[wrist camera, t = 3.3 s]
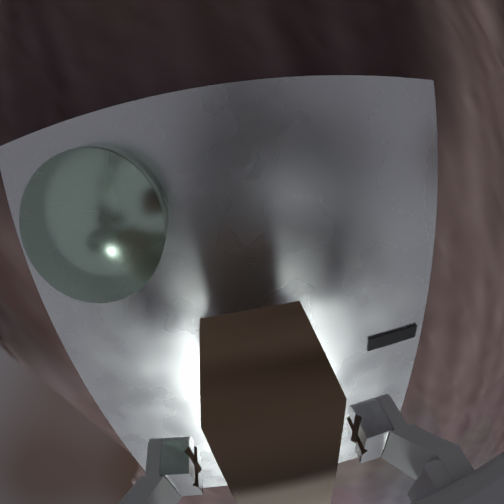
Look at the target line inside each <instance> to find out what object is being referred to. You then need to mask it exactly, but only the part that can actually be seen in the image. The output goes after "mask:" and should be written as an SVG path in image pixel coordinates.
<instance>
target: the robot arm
mask: <svg viewBox="0 0 504 504" xmlns="http://www.w3.org/2000/svg"><path fill="white" fill-rule="evenodd" d="M348 413H349V417H348V418H347V421H346V426H347V432H348V435H349V437H350V440H351V441H352V442H354V443H356V446H355V452H356V454H357V456H358V459H359V461H360V463H363V462H366V461H369V460H372V459H375V458H378V457H381V456H382V458H383V459H384V460H386V461H387V462H389V463H390V464H392V465H393V466H395V467H396V468H398V469H399V470H401V471H402V472H404V473H405V474H407V475H409V476H410V477H412V478H413V479H415V480H416V481H415V482H414V484H413V485H412V487H411V488H410V490H409V492H408V495H409V497H410V500H411V502H412V503H411V504H504V452H502V453H501V454H499V455H498V456H496V457H495V458H493V459H492V460H490V461H489V462H487V463H486V464H484V465H483V466H481V467H479V468H478V469H476V470H474V469H473V467H472V466H471V464H470V462H469V461H468V459H467V458H466V456H465V454H464V453H463V451H462V450H461V448H460V446H458V445H456V444H453V443H451V442H449V441H447V440H445V439H443V438H440V437H438V436H436V435H434V434H432V433H430V432H428V431H426V430H423V429H421V428H419V427H417V426H415V425H413V424H408V425H407V423H406V421H405V420H404V418H403V416H402V414H401V413H400V411H399V409H398V408H397V406H396V404H395V403H394V401H393V399H392V398H391V396H390V395H389V394H384V395H381V396H378V397H375V398H371V399H368V400H365V401H362V402H359V403H356V404H353V405H350V406H349V407H348ZM201 470H202V462H201V457H200V453H199V450H198V448H197V447H195V446H194V440H193V438H192V437H191V436H187V437H173V438H152V439H150V440H149V442H148V449H147V460H146V472H145V476H141V477H140V478H139V480H138V481H137V482H136V483H135V484H134V486H133V487H132V488H131V489H130V490H129V492H128V493H127V494H126V495H125V496H124V497H123V499H122V500H121V501H120V502H119V503H118V504H177V503H178V502H179V500H180V498H181V496H190V495H201V494H203V480H202V478H201V476H200V474H199V473H200V472H201Z"/></svg>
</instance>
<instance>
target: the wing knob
mask: <svg viewBox="0 0 504 504" xmlns="http://www.w3.org/2000/svg"><path fill="white" fill-rule="evenodd" d="M346 401H347V398H346V396H345V394H344V392H343V390H342V388H341V386H340V384H339V381H338V379H337V377H336V375H335V373H334V371H333V369H332V367H331V365H330V362H329V360H328V358H327V356H326V354H325V352H324V350H323V348H322V346H321V344H320V342H319V339H318V337H317V335H316V333H315V331H314V329H313V327H312V325H311V323H310V321H309V319H308V317H307V315H306V313H305V311H304V309H303V306H302V304H301V302H300V301H295V302H290V303H285V304H279V305H274V306H269V307H263V308H258V309H252V310H247V311H241V312H235V313H229V314H223V315H217V316H211V317H205V318H200V414H201V429H202V431H203V433H204V436H205V438H206V440H207V442H208V445H209V447H210V449H211V451H212V453H213V456H214V458H215V460H216V462H217V464H218V466H219V468H220V470H221V472H222V475H223V477H224V479H225V481H226V483H227V485H228V487H229V489H230V491H231V493H232V495H233V496H234V498H235V500H236V502H237V504H330V503H331V498H332V493H333V487H334V482H335V477H336V471H337V465H338V459H339V453H340V446H341V439H342V432H343V425H344V417H345V409H346Z"/></svg>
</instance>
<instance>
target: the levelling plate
mask: <svg viewBox="0 0 504 504" xmlns="http://www.w3.org/2000/svg"><path fill="white" fill-rule="evenodd" d="M0 170H1V175H2V179H3V183H4V188H5V192H6V196H7V200H8V203H9V207H10V211H11V214H12V218H13V221H14V224H15V228H16V231H17V234H18V237H19V240H20V243H21V246H22V249H23V252H24V255H25V258H26V261H27V263H28V266H29V269H30V271H31V274H32V277H33V279H34V282H35V284H36V287H37V289H38V291H39V294H40V296H41V299H42V301H43V303H44V305H45V308H46V310H47V312H48V314H49V317H50V319H51V321H52V323H53V325H54V327H55V329H56V331H57V333H58V335H59V337H60V339H61V341H62V343H63V345H64V347H65V349H66V351H67V353H68V355H69V357H70V359H71V360H72V362H73V364H74V366H75V368H76V370H77V371H78V373H79V375H80V377H81V378H82V380H83V382H84V383H85V385H86V387H87V388H88V390H89V392H90V393H91V395H92V397H93V398H94V400H95V401H96V403H97V405H98V406H99V408H100V409H101V411H102V412H103V414H104V415H105V417H106V418H107V420H108V421H109V423H110V424H111V426H112V427H113V429H114V430H115V431H116V433H117V434H118V436H119V437H120V439H121V440H122V441H123V443H124V444H125V445H126V447H127V448H128V449H129V451H130V452H131V453H132V455H133V456H134V457H135V459H136V460H137V461H138V462H139V464H140V465H141V466H142V467H143V469H144V470H145V471H146V460H147V449H148V442H149V440H150V439H152V438H173V437H187V436H191V437H192V438H193V440H194V446H195V447H197V448H198V450H199V453H200V457H201V462H202V470H201V472H200V473H199V474H200V476H201V478H202V480H203V488H205V487H216V486H225V485H227V483H226V481H225V479H224V477H223V475H222V472H221V470H220V468H219V466H218V464H217V462H216V460H215V458H214V456H213V453H212V451H211V449H210V447H209V445H208V442H207V440H206V438H205V436H204V433H203V431H202V429H201V414H200V318H205V317H211V316H217V315H223V314H229V313H235V312H241V311H247V310H252V309H258V308H263V307H269V306H274V305H279V304H285V303H290V302H295V301H300V302H301V304H302V306H303V309H304V311H305V313H306V315H307V317H308V319H309V321H310V323H311V325H312V327H313V329H314V331H315V333H316V335H317V337H318V339H319V342H320V344H321V346H322V348H323V350H324V352H325V354H326V356H327V358H328V360H329V362H330V365H331V367H332V369H333V371H334V373H335V375H336V377H337V379H338V381H339V384H340V386H341V388H342V390H343V392H344V394H345V396H346V398H347V401H346V409H345V417H344V425H343V432H342V439H341V446H340V453H339V459H338V463H340V462H344V461H347V460H350V459H354V458H357V457H358V456H357V454H356V452H355V446H356V443H354V442H352V441H351V440H350V437H349V435H348V432H347V426H346V421H347V418H348V417H349V413H348V407H349V406H350V405H353V404H356V403H359V402H362V401H365V400H368V399H371V398H375V397H378V396H381V395H384V394H389V395H390V396H391V398H392V399H393V401H394V403H395V404H396V406H397V408H398V409H399V411H400V410H401V407H402V404H403V401H404V397H405V394H406V390H407V387H408V383H409V379H410V376H411V372H412V368H413V364H414V360H415V356H416V351H417V347H418V342H419V338H420V333H421V328H422V323H423V318H424V312H425V307H426V301H427V295H428V288H429V281H430V274H431V266H432V258H433V249H434V239H435V227H436V212H437V190H438V138H437V117H436V102H435V91H434V81H433V80H426V79H416V78H404V77H389V76H365V75H320V76H295V77H280V78H267V79H257V80H247V81H239V82H231V83H223V84H216V85H209V86H203V87H197V88H191V89H186V90H180V91H175V92H170V93H165V94H160V95H156V96H151V97H147V98H143V99H138V100H134V101H130V102H126V103H122V104H119V105H115V106H111V107H108V108H104V109H101V110H97V111H94V112H91V113H87V114H84V115H81V116H78V117H75V118H72V119H69V120H66V121H63V122H60V123H57V124H54V125H52V126H49V127H46V128H43V129H41V130H38V131H36V132H33V133H30V134H28V135H25V136H23V137H21V138H18V139H16V140H13V141H11V142H9V143H6V144H4V145H2V146H0Z"/></svg>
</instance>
